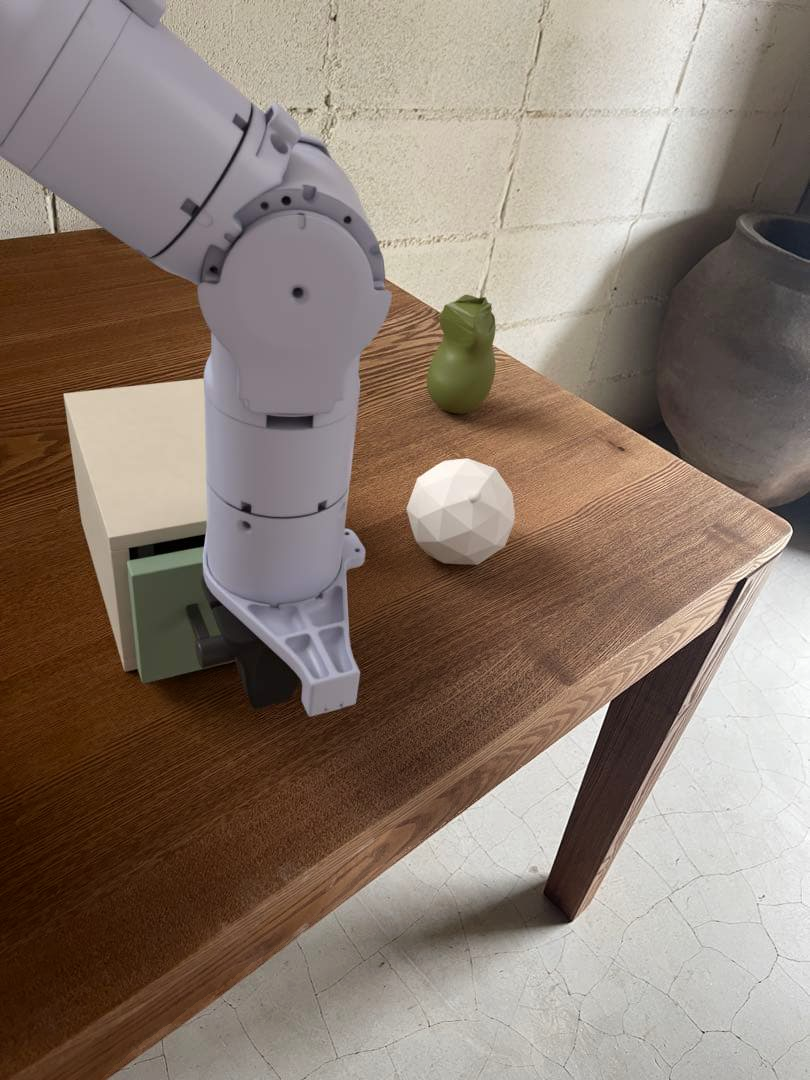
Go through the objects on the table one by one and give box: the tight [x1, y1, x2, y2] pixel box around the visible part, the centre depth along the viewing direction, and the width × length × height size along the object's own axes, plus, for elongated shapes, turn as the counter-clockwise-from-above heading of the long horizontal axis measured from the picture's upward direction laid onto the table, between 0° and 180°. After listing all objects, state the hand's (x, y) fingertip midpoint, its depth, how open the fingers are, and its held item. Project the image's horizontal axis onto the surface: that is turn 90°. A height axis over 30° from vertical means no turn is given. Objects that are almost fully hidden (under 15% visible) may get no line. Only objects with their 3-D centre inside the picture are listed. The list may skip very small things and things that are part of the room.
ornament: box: [406, 457, 516, 566], centre depth 57 cm, size 7×7×8 cm
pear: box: [426, 294, 497, 414], centre depth 71 cm, size 6×5×10 cm
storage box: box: [63, 377, 207, 672], centre depth 52 cm, size 14×12×10 cm
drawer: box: [127, 534, 236, 684], centre depth 49 cm, size 16×11×8 cm, turn 25°
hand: (268, 694), depth 43 cm, fingers closed
